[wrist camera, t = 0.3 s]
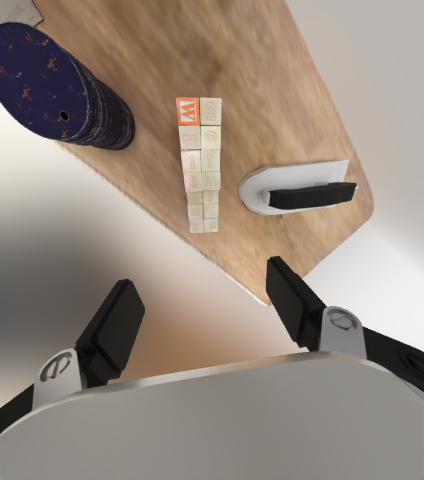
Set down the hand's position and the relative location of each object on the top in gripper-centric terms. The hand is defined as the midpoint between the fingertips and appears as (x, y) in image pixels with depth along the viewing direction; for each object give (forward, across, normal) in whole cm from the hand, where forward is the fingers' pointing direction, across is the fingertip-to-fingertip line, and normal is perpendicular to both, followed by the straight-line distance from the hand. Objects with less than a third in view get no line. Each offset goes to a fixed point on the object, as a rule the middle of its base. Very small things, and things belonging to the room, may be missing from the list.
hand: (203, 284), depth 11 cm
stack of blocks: (+31, -1, -5) cm, 32 cm away
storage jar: (+31, +15, -17) cm, 38 cm away
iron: (+31, -22, +1) cm, 38 cm away
